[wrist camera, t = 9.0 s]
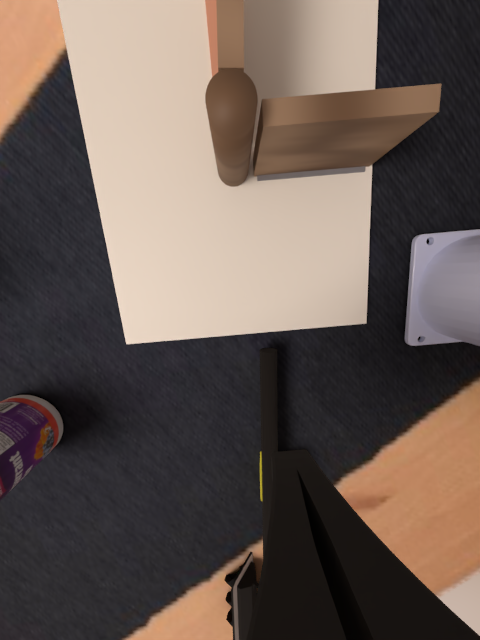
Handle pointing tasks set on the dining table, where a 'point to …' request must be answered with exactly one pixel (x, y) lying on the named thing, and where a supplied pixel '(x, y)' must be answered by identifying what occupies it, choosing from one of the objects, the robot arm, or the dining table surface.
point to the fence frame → (309, 126)
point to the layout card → (201, 170)
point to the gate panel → (230, 34)
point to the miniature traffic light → (245, 578)
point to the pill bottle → (25, 436)
